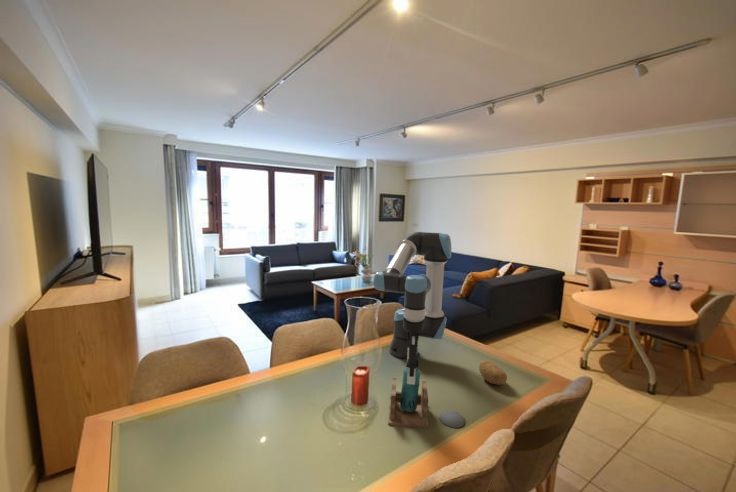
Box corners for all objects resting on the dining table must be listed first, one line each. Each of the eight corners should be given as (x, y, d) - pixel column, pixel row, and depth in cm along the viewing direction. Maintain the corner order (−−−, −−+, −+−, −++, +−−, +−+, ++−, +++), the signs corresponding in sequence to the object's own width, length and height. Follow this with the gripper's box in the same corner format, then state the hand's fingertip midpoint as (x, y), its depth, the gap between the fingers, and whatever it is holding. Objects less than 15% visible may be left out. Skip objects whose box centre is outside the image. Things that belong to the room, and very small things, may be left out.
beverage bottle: (396, 412, 118) (401, 360, 116) (403, 403, 124) (407, 354, 122) (413, 418, 115) (418, 366, 113) (419, 408, 121) (424, 358, 119)
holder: (390, 398, 129) (391, 375, 127) (425, 401, 127) (427, 378, 126) (388, 424, 113) (389, 398, 112) (428, 429, 111) (430, 403, 110)
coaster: (438, 410, 122) (438, 409, 122) (462, 412, 121) (462, 411, 121) (440, 426, 113) (440, 424, 113) (466, 429, 112) (466, 427, 112)
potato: (494, 392, 136) (496, 374, 135) (473, 375, 149) (474, 359, 148) (512, 388, 140) (514, 371, 139) (489, 372, 153) (491, 356, 152)
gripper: (403, 306, 128) (400, 356, 131) (403, 331, 104) (399, 391, 107) (422, 308, 127) (419, 358, 130) (426, 333, 103) (422, 394, 106)
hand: (410, 373), depth 118 cm, fingers open, 13 cm apart
